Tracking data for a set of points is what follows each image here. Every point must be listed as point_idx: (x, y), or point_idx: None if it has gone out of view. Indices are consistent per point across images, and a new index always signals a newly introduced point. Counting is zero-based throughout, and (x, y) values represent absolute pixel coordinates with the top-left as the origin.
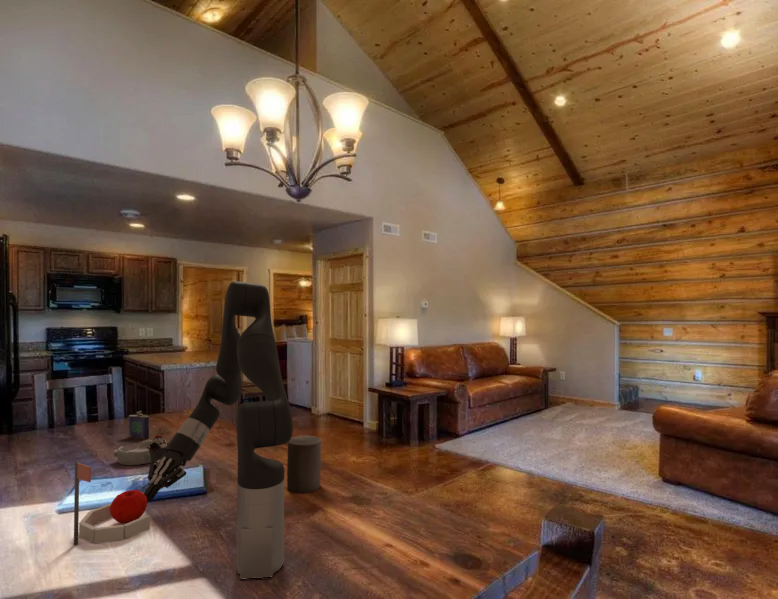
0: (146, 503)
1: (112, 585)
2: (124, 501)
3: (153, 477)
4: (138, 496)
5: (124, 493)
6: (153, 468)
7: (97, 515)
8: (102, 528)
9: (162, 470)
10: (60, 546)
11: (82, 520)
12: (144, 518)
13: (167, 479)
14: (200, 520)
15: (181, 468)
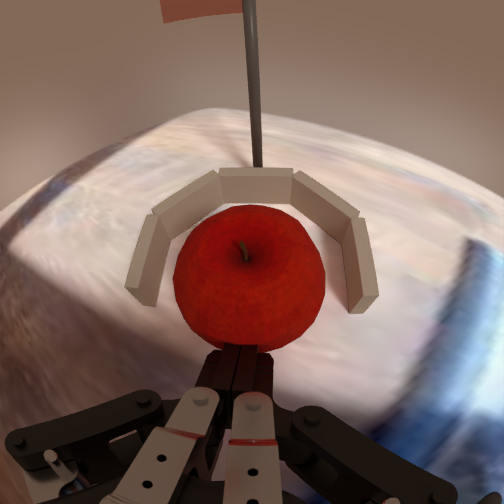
0: (188, 323)
1: (81, 166)
2: (211, 216)
3: (263, 422)
4: (184, 264)
5: (273, 239)
6: (358, 476)
7: (349, 242)
8: (201, 180)
9: (171, 459)
10: (281, 164)
11: (308, 179)
12: (130, 268)
13: (98, 406)
14: (52, 398)
15: (13, 457)
